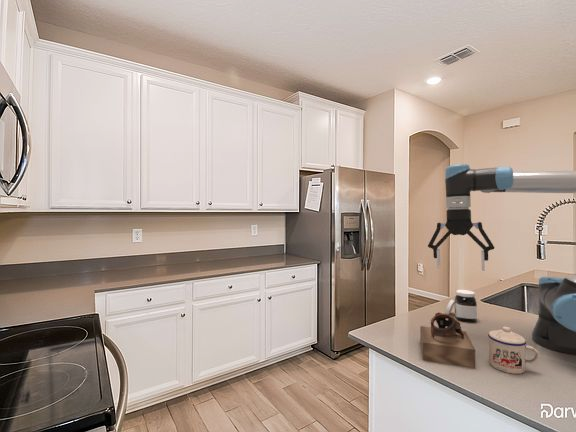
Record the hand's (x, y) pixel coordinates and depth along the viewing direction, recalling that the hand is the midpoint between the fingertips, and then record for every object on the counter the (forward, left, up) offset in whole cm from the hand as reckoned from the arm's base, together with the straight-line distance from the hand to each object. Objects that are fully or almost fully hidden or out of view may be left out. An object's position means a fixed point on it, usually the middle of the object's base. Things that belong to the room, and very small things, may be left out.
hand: (460, 268), depth 104 cm
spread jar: (+2, -26, -26) cm, 37 cm away
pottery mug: (+3, +13, -20) cm, 24 cm away
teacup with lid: (-15, +12, -26) cm, 32 cm away
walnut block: (+3, +14, -26) cm, 30 cm away
